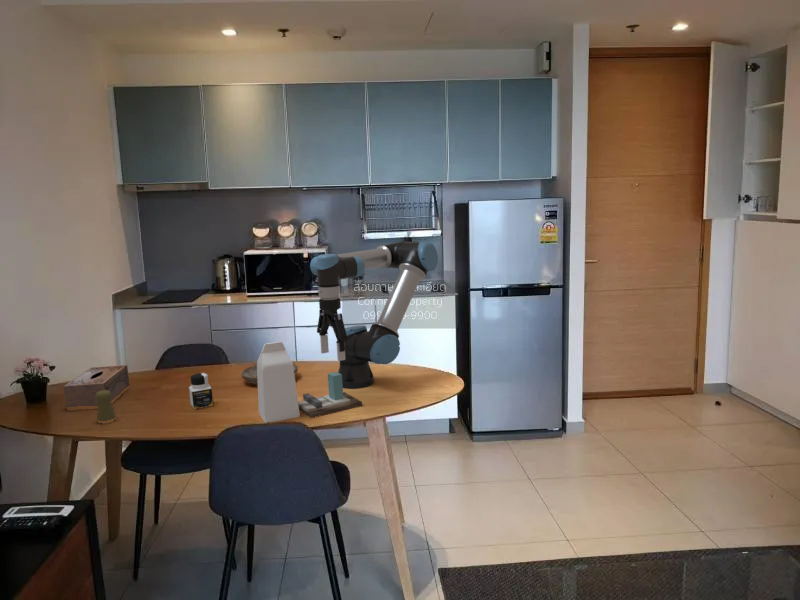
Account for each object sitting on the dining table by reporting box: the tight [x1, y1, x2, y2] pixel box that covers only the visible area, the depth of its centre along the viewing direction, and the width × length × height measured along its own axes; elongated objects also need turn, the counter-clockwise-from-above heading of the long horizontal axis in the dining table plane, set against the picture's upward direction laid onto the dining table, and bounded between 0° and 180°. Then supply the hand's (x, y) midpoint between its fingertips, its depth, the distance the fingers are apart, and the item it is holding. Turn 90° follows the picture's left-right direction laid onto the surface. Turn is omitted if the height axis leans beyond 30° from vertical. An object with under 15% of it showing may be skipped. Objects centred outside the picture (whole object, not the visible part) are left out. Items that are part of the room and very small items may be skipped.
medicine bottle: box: [188, 372, 214, 410], centre depth 228 cm, size 7×7×12 cm
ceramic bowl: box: [240, 363, 299, 385], centre depth 256 cm, size 23×24×5 cm
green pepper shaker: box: [95, 390, 116, 421], centre depth 215 cm, size 6×6×11 cm
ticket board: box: [298, 391, 363, 419], centre depth 220 cm, size 14×20×4 cm
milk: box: [256, 341, 301, 424], centre depth 212 cm, size 12×12×26 cm
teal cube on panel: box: [322, 371, 350, 406], centre depth 221 cm, size 10×6×10 cm, turn 32°
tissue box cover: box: [62, 364, 131, 407], centre depth 241 cm, size 26×14×10 cm, turn 6°
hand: (333, 356), depth 219 cm, fingers open, 13 cm apart
